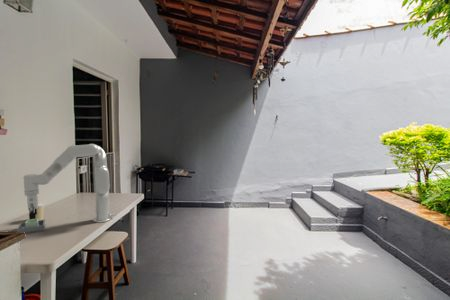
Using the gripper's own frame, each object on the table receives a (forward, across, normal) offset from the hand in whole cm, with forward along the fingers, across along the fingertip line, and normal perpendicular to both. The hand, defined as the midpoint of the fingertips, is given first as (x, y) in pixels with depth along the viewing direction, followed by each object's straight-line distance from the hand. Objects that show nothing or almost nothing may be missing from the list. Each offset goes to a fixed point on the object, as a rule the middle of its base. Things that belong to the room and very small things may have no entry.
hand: (33, 216), depth 163 cm
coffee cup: (+9, +21, 0) cm, 23 cm away
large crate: (+9, 0, +1) cm, 9 cm away
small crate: (+8, 0, +1) cm, 8 cm away
